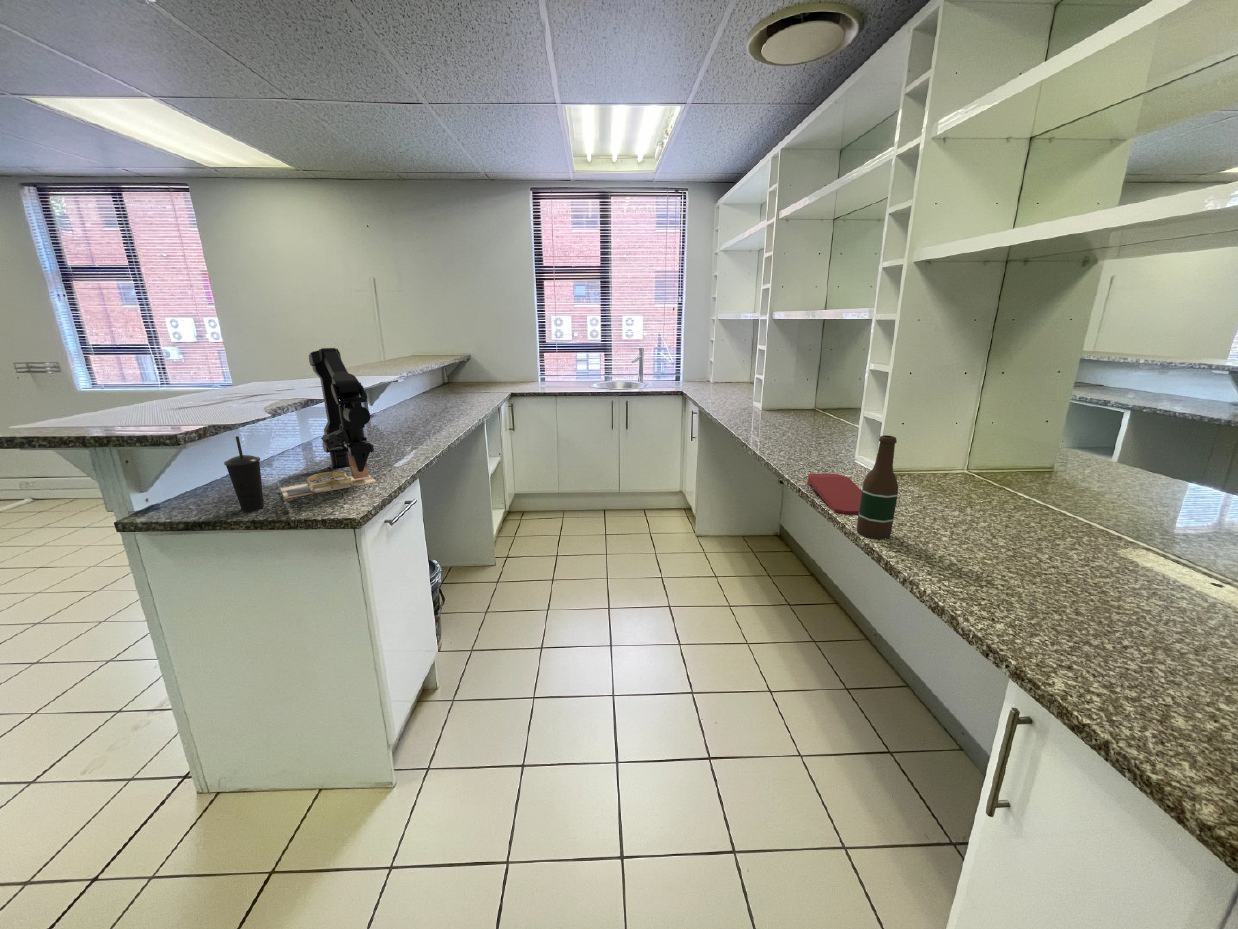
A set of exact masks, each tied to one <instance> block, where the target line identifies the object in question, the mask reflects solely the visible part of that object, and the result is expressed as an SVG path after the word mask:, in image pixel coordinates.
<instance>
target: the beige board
mask: <svg viewBox="0 0 1238 929" xmlns="http://www.w3.org/2000/svg"><path fill="white" fill-rule="evenodd" d="M348 478H351V481H352V482H353V486H352V487H351V485H350V483H346V484H340V485H335V484H333V488H331V486H330V485H329V486H327V487H323V488H317V489H315V493H314V494H319V493H326V492H331V491H336V490H341V489H347V488H353V487H358V486H364V485H369V484H374V483H378V481H377V480H375V478H373V477H372V475H370V474H369V477H364V478H358V479H354V478H353V477H352V475H347V479H348ZM342 479H344V476H341V477H337V478H336V477H335V479H333V478H332V479H327V480H325V479H324V480H319V482H317V481H314V482H313V481H312V482H310V486H308V485H307V483H302V484H295V485H291V486H290V485H289V486H285V487H284V486H283V487H280V489H279V490H280V492H282V493H281V494H282V497H283V499H284V501H285V503H287V502H289V499H291V498H298V497H303V496H308V495H314V494H313V493H312V489H313V487H312V485H313V484H319V483H325V482H327V481H329V480H342Z"/></svg>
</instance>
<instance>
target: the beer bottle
mask: <svg viewBox="0 0 1238 929" xmlns="http://www.w3.org/2000/svg"><path fill="white" fill-rule="evenodd" d="M878 442H879V445H878V449H877V454H876V458H875V463H874V465H873V468H872V469H870V471H869V472H868V473H867V474H866V476H865V478H863V479H864V480H863V484H862V487H861V488H862V489H861V490H862V494H861V501H860V507H859V514H857V515H858V516H857V521H856V523H857V524H856V533H857V534H858V535H860V536H862V537H864V538H867V539H871V540H872V539H873V540H879V541H881V540H885V539H886V540H887V539H890V537H891V533H892V530H893V523H894V519H895V513H896V505H897V500H898V496H899V483H898V479H897V477H896V475H895V473H894V459H895V458H894V456H895V446H896V444H897V443H898V442H897V437H896V436H894V435H887V434H886V435H880V437H879V439H878Z"/></svg>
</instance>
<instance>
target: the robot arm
mask: <svg viewBox="0 0 1238 929" xmlns="http://www.w3.org/2000/svg"><path fill="white" fill-rule="evenodd" d="M308 361H309V365H310V367H312V370H313V372H314V374H315V375H316V377H318V378H319V379H320V385H321V391H322V398H323V402H324V403H323V404H324V408H325V414H326V418H327V422H326V425H325V426H324V428H323V434H324V435H322V436H321V438H320V439H321V440H322V449H323V452H324V453H326V454H328V453H329V456H330V457H329V458H330V463H331V464H329V467H330V469H331V470H337V469H344V468H350V462H349V456H348V455H349V454H350V455H352V456H353V457H354V460H355V463H356V465H357V468H358V471H359V472H363V470H364V467H365V464H366V461H368V458H369V455H370V453H374V452H375V448H374V445H373V444H372V443H370V442H369V441H368V439H367V437H366V436H365V429H364V428H366V425H367V424H368V423H369V422H370V420H371V413H370V411H369V410H368V409H367V408H366V407H364V405H362V403H367V399H368V395H367V393H366V391H365V388H364V385H362V382H359V380H358V379H357V377H356V375H354V374H351V373H349V371H348V370H347V367H346V366H345V364H344V362H343V361H342V357H341V352H340V350H339V349H338V348H335V347H321V348H319V349H318V350H315V351H312V352H310V353H309V354H308Z"/></svg>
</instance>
